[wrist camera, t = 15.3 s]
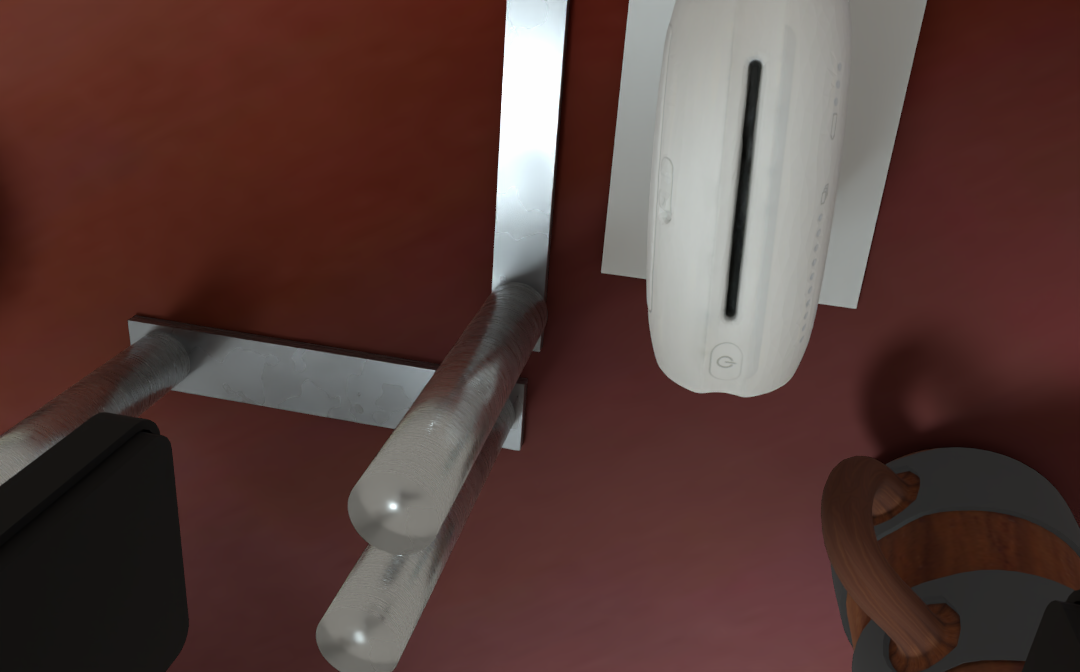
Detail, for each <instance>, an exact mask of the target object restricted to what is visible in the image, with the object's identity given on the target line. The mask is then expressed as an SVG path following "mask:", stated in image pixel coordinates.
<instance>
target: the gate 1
mask: <svg viewBox="0 0 1080 672" xmlns="http://www.w3.org/2000/svg"><path fill="white" fill-rule="evenodd" d="M128 326H129V335H130V343H131V346H129V347H128V348H126V349H125V350H123V351H122V352H121V353H119V354H118V355H116V356H115V357H113V358H112V359H110V360H109V361H107V362H106V363H105V364H103V365H102V366H100V367H99V368H97V369H96V370H94V371H93V372H92V373H90V374H89V375H87V376H86V377H84V378H83V379H81V380H80V381H79V382H77V383H76V384H74V385H73V386H71V387H70V388H68V389H67V390H66V391H64V392H63V393H61V394H60V395H58V396H57V397H55V398H54V399H53V400H51V401H50V402H48V403H47V404H45V405H44V406H42V407H41V408H39V409H38V410H37V411H35V412H34V413H32V414H31V415H29V416H28V417H26V418H25V419H24V420H22V421H21V422H19V423H18V424H16V425H15V426H13V427H12V428H11V429H9V430H8V431H6V432H5V433H3V434H2V435H0V486H1V485H2V484H3V483H5V482H6V481H7V480H9V479H10V478H11V477H13V476H14V475H15V474H17V473H18V472H19V471H21V470H22V469H23V468H25V467H26V466H27V465H29V464H30V463H31V462H33V461H34V460H35V459H36V458H38V457H39V456H40V455H42V454H43V453H44V452H46V451H47V450H48V449H50V448H51V447H52V446H54V445H55V444H56V443H58V442H59V441H60V440H62V439H63V438H64V437H66V436H67V435H68V434H70V433H71V432H72V431H74V430H75V429H76V428H78V427H79V426H80V425H82V424H83V423H84V422H86V421H87V420H88V419H90V418H91V417H92V416H94V415H96V414H98V413H100V412H109V413H114V414H120V415H125V416H131V417H136V418H137V417H138V416H139V415H141V414H142V413H143V412H144V411H146V410H147V409H148V408H149V407H150V406H152V405H153V404H154V403H155V402H157V401H158V400H159V399H160V398H162V397H163V396H164V395H165V394H166V393H168V392H169V391H170V390H174V391H180V392H185V393H191V394H197V395H203V396H208V397H214V398H220V399H226V400H231V401H237V402H243V403H249V404H254V405H260V406H266V407H271V408H277V409H283V410H289V411H294V412H300V413H306V414H312V415H317V416H323V417H329V418H335V419H340V420H346V421H352V422H358V423H363V424H369V425H375V426H380V427H386V428H392V429H395V428H396V427H397V425H398V424H399V423H400V421H401V420H402V418H403V417H404V416H405V414H406V413H407V411H408V410H409V408H410V407H411V406H412V404H413V403H414V401H415V400H416V399H417V397H418V396H419V394H420V393H421V391H422V390H423V389H424V387H425V386H426V384H427V383H428V382H429V380H430V379H431V377H432V376H433V374H434V373H435V372H436V370H437V369H438V367H439V366H440V365H441V364H435V363H429V362H423V361H417V360H410V359H404V358H398V357H392V356H386V355H379V354H373V353H367V352H361V351H355V350H349V349H342V348H336V347H330V346H324V345H318V344H311V343H305V342H299V341H293V340H287V339H280V338H274V337H268V336H262V335H256V334H249V333H243V332H237V331H231V330H225V329H218V328H212V327H206V326H200V325H194V324H188V323H181V322H175V321H169V320H163V319H157V318H150V317H144V316H138V315H135V316H134V317H132V318H130V319H129V320H128ZM527 382H528V378H522V377H519V378H518V380H517V382H516V384H515V386H514V388H513V389H512V391H511V393H510V395H509V397H508V399H507V401H506V403H505V405H504V407H503V409H502V411H501V412H500V414H499V416H498V418H497V420H496V422H495V424H494V426H493V428H492V430H491V432H490V434H489V436H488V437H487V439H486V441H485V443H484V445H483V447H482V449H481V451H480V453H479V455H478V457H477V459H476V461H475V462H474V464H473V466H472V468H471V470H470V472H469V474H468V476H467V478H466V480H465V482H464V484H463V486H462V487H461V489H460V491H459V493H458V495H457V497H456V499H455V501H454V503H453V505H452V507H451V509H450V511H449V512H448V514H447V516H446V518H445V520H444V522H443V524H442V526H441V528H440V530H439V532H438V534H437V536H436V537H435V539H434V541H433V542H432V543H431V544H430V545H429V546H428V547H427V548H425V549H424V550H422V551H420V552H417V553H414V554H408V555H397V554H391V553H387V552H385V551H382V550H380V549H378V548H376V547H374V546H372V545H371V544H368V545H367V547H366V548H365V550H364V552H363V553H362V555H361V556H360V558H359V560H358V561H357V563H356V564H355V566H354V568H353V569H352V571H351V573H350V574H349V576H348V577H347V579H346V581H345V582H344V584H343V585H342V587H341V589H340V590H339V592H338V593H337V595H336V597H335V598H334V600H333V602H332V603H331V605H330V606H329V608H328V610H327V611H326V613H325V614H324V616H323V618H322V619H321V621H320V622H319V624H318V627H317V630H316V641H317V645H318V648H319V650H320V652H321V653H322V655H323V656H324V658H325V659H326V660H327V661H328V662H329V663H330V664H331V665H332V666H333V667H334V668H336V669H337V670H339V671H340V672H392V671H393V670H394V669H395V667H396V666H397V664H398V661H399V659H400V657H401V655H402V653H403V651H404V649H405V647H406V645H407V643H408V641H409V639H410V637H411V635H412V632H413V630H414V628H415V626H416V624H417V622H418V620H419V618H420V616H421V614H422V612H423V610H424V608H425V606H426V604H427V601H428V599H429V597H430V595H431V593H432V591H433V589H434V587H435V585H436V583H437V581H438V579H439V577H440V575H441V572H442V570H443V568H444V566H445V564H446V562H447V560H448V558H449V556H450V554H451V552H452V550H453V548H454V546H455V543H456V541H457V539H458V537H459V535H460V533H461V531H462V529H463V527H464V525H465V523H466V521H467V519H468V517H469V515H470V512H471V510H472V508H473V506H474V504H475V502H476V500H477V498H478V496H479V494H480V492H481V490H482V488H483V486H484V483H485V481H486V479H487V477H488V475H489V473H490V471H491V469H492V467H493V465H494V463H495V461H496V459H497V457H498V454H499V452H500V450H501V448H507V449H512V450H518V451H520V449H521V447H522V445H523V437H524V423H525V410H526V396H527Z"/></svg>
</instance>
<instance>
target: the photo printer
mask: <svg viewBox="0 0 1080 672" xmlns="http://www.w3.org/2000/svg"><path fill="white" fill-rule="evenodd" d="M850 65H851V17H850V6H849V0H676V2H675V5H674V9H673V13H672V16H671V20H670V23H669V26H668V28H667V34H666V39H665V45H664V52H663V60H662V68H661V76H660V82H659V89H658V99H657V110H656V121H655V132H654V142H653V154H652V169H651V181H650V195H649V212H648V239H647V264H646V287H647V305H648V319H649V327H650V335H651V340H652V345H653V349H654V354H655V357H656V361H657V363H658V365H659V367H660V369H661V370H662V371H663V372H664V373H665V374H666V376H667V377H668V378H670V379H671V380H672V381H674V382H675V383H677V384H678V385H680V386H682V387H684V388H686V389H688V390H690V391H693V392H695V393H710V392H723V393H729V394H733V395H737V396H741V397H753V396H758V395H761V394H765V393H769V392H771V391H774V390H776V389H778V388H780V387H782V386H783V385H785V384H786V383H787V382H788V381H789V380H790V379H791V378H792V377H793V375H794V374H795V372H796V370H797V368H798V366H799V364H800V362H801V359H802V357H803V355H804V352H805V350H806V347H807V345H808V342H809V339H810V335H811V331H812V328H813V324H814V320H815V316H816V311H817V306H818V301H819V297H820V291H821V286H822V281H823V276H824V270H825V264H826V259H827V253H828V246H829V241H830V233H831V228H832V221H833V214H834V208H835V201H836V194H837V187H838V179H839V172H840V164H841V156H842V147H843V138H844V129H845V120H846V110H847V99H848V89H849V78H850Z"/></svg>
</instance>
